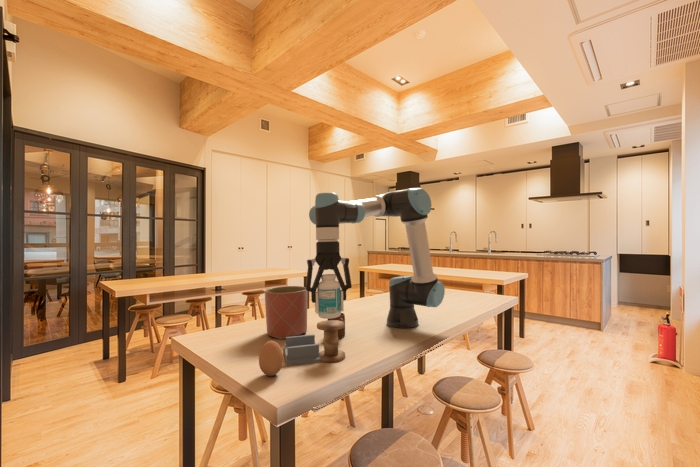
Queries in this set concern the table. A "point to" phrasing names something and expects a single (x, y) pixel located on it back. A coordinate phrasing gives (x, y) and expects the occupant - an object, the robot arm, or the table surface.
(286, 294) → the planter
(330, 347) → the bobbin
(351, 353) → the table surface
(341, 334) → the mug
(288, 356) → the card holder
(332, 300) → the pill bottle
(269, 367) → the egg
